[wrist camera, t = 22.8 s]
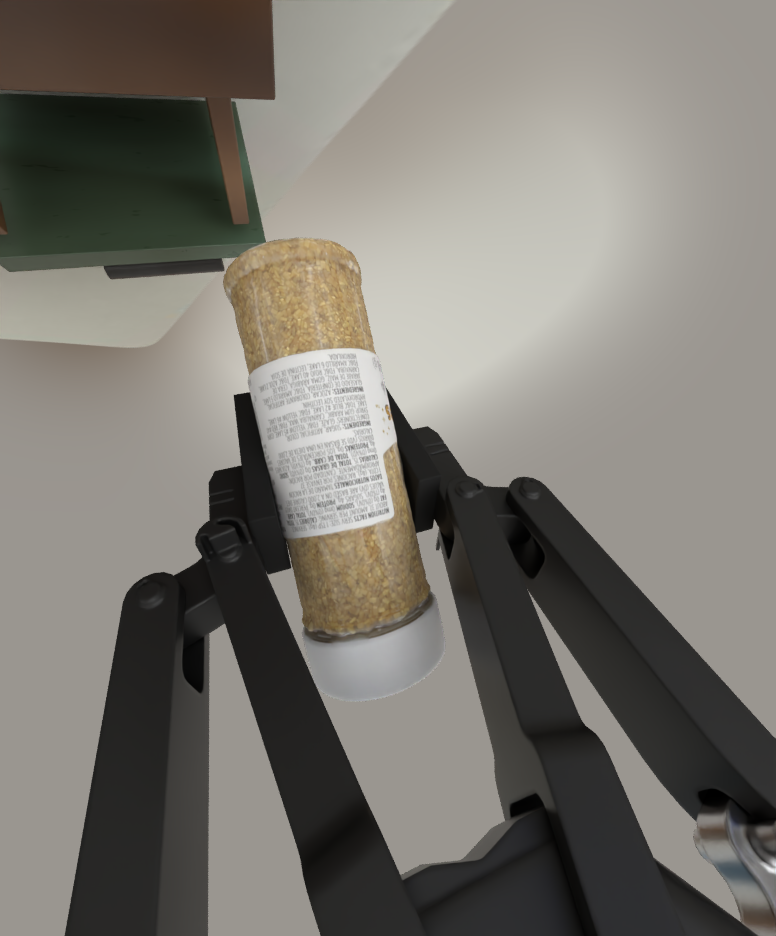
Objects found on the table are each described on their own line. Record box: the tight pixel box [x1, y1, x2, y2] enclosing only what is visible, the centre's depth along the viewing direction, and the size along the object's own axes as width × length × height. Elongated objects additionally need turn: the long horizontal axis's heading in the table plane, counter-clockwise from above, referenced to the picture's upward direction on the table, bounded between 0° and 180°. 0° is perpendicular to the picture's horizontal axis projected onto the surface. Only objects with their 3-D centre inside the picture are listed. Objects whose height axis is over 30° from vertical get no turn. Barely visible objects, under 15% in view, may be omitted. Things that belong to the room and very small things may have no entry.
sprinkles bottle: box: [223, 238, 445, 701], centre depth 13 cm, size 5×5×13 cm
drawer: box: [0, 94, 266, 279], centre depth 16 cm, size 20×12×8 cm, turn 166°
